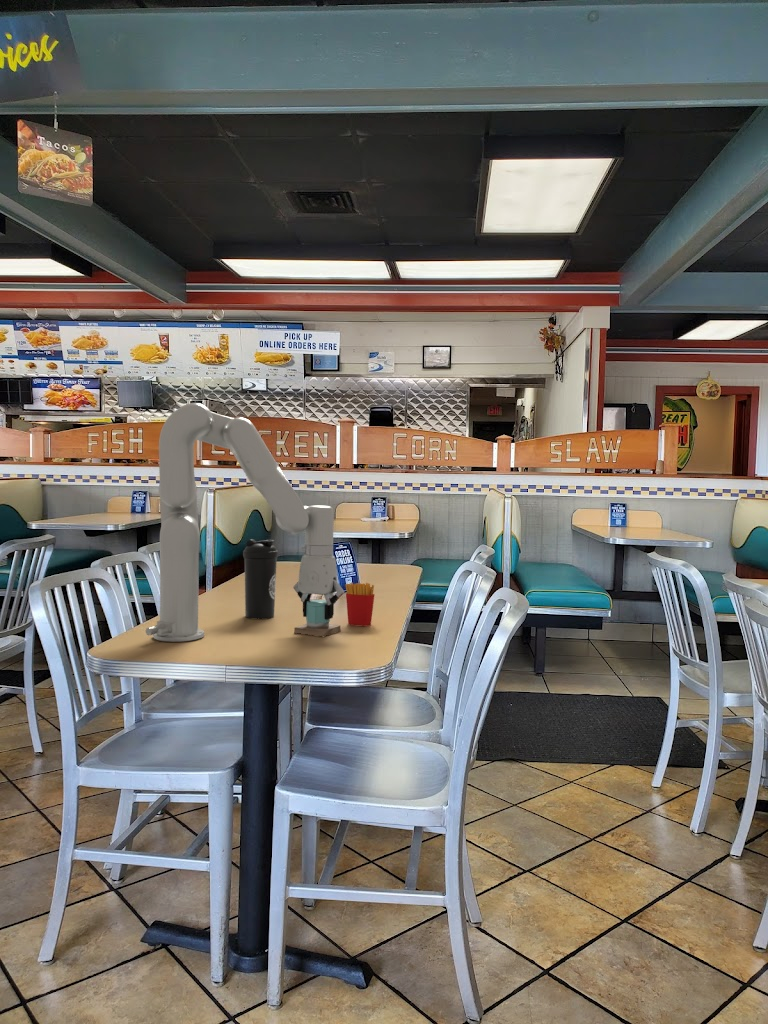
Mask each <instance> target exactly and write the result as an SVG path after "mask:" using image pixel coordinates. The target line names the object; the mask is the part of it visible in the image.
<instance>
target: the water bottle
mask: <svg viewBox="0 0 768 1024" xmlns="http://www.w3.org/2000/svg"><path fill="white" fill-rule="evenodd" d="M274 542H275V540H274V539H266V540H265V539H263V540H259V541H257V540H256V539H253V538H251V539H248V540H247V542H246V546H245V548H244V550H243V551H242V556H243V557H242V558H243V559H244V600H245V601H244V602H245V603H244V606H245V607H244V608H245V609H244V610H245V614H244V615H245V616H246V617H245V618H247V617H248V618H247V619H251V618H257V619H256V620H263V619H262V618H267V619H271V618H270V617H272V618H274V617H275V604H276V583H277V582H276V581H277V559H278V557H279V550H277V547H276V546H275V545H274ZM273 616H274V617H273ZM258 618H259V619H258Z"/></svg>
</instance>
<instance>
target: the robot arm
mask: <svg viewBox="0 0 768 1024" xmlns="http://www.w3.org/2000/svg"><path fill="white" fill-rule="evenodd" d="M196 441H201V442H204V443H206V444H210V445H213V446H216V447H220V448H223V449H228V450H230V452H232V454H233V456H234V458H235V459H236V461H237V463H238V464H239V466H240V468H241V469H242V471H243V473H245V475H246V478H247V479H248V481H249V482H250V484H251V485H252V486H253V487H254V488H255V489H256V491H258V492H259V493H260V494H261V495H262V497H263V498H264V499H265V501H266V503H267V504H268V505H269V507H270V508H271V510H272V512H273V514H274V515H275V521H276V524H277V526H278V528H280V529H281V530H283V531H284V532H287V533H289V534H291V535H297V534H300V533H302V532H304V531H305V532H304V533H305V536H304V537H305V538H304V540H305V541H304V542H305V543H304V545H302V546H301V550H302V552H303V551H304V555H302V556H301V561H300V565H299V573H298V581H297V582H296V583H295V585H293V590H294V591H295V592H296V593H297V596H298V597H299V599H300V602H302V617H303V618H306V604H307V601H310V600H311V598H312V595H321V596H322V595H323V596H324V599H325V600H326V602H327V605H325V620H328V619H330V620H332V619H333V616H334V614H335V613H334V612H335V611H334V609H335V608H334V607H335V606H334V604H336V603H337V601H338V600H339V599H340V597H341V596H343V594H345V590H344V589H343V587H342V586H341V585H340V584H339V582H338V568H337V561H336V556H334V521H335V520H334V519H335V517H334V516H335V512H334V509H333V508H334V507H332V506H330V505H317V504H316V505H315V504H314V505H309V506H307V505H304V504H303V501H301V498H300V497H299V495H298V494H297V492H296V491H295V489H294V488H293V486H292V485H291V483H290V482H289V480H288V479H287V477H286V475H285V474H284V472H283V471H282V468H281V467H280V466H279V464H278V462H277V461H276V460H275V458H274V456H273V454H272V453H271V452H270V450H269V447H267V445H266V443H265V441H264V439H263V438H262V436H261V435H260V433H259V431H258V430H257V428H256V426H255V425H254V423H253V422H251V420H249V419H247V418H245V417H235V418H234V417H230V416H226V415H223V414H219V413H216V412H213V411H211V410H210V408H208V407H207V406H206V405H204V404H203V403H200V402H191V403H188V404H184V405H182V406H181V407H179V408H177V409H176V410H174V411H173V412H172V413H171V414H170V415H169V416H168V417H167V419H166V420H165V422H164V423H163V425H162V428H161V430H160V434H159V441H158V459H159V460H158V469H159V474H158V475H159V486H158V493H159V504H160V506H159V507H160V522H161V523H160V524H161V527H160V531H159V620H157V621H156V624H155V626H150V627H147V628H146V629H145V633H146V635H147V636H152V637H153V639H154V640H156V641H160V642H172V643H175V642H176V643H177V642H189V641H195V640H199V639H202V638H203V637H204V636H205V631H204V630H203V629H200V628H199V587H200V586H199V585H200V584H199V580H200V579H199V573H200V572H199V571H200V570H199V569H200V567H199V563H200V535H201V534H200V528H199V517H198V515H199V514H198V498H197V497H198V496H197V495H198V494H197V492H198V491H197V490H198V489H197V488H198V487H197V484H196V477H195V463H194V462H195V454H194V450H195V449H194V446H195V444H196V443H195V442H196ZM334 593H335V594H334Z"/></svg>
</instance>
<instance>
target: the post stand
mask: <svg viewBox="0 0 768 1024" xmlns="http://www.w3.org/2000/svg"><path fill="white" fill-rule="evenodd" d="M293 629H294V634H297V633H301V634H300V635H305V634H308V635H307V636H312V635H314V637H319V636H322V637H321V638H324V637H326V635H327V636H330V635H333V634H335V632H336V633H339V632H341V625H338V624H330V622H326V623H309V622H307V621H306V623H305V624H302V625H298V626H295V627H294V628H293ZM338 631H339V632H338ZM332 633H333V634H332ZM329 634H330V635H329ZM323 636H324V637H323Z"/></svg>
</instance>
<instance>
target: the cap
mask: <svg viewBox="0 0 768 1024" xmlns="http://www.w3.org/2000/svg"><path fill="white" fill-rule="evenodd" d="M325 605H327V602H326V599H325V600H323V599H312V600H311V599H310V601H307V604H306V617H305V621H306V623H307V622H309V623H326V622H329V623H330V621H331V619H328V620H325Z"/></svg>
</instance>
